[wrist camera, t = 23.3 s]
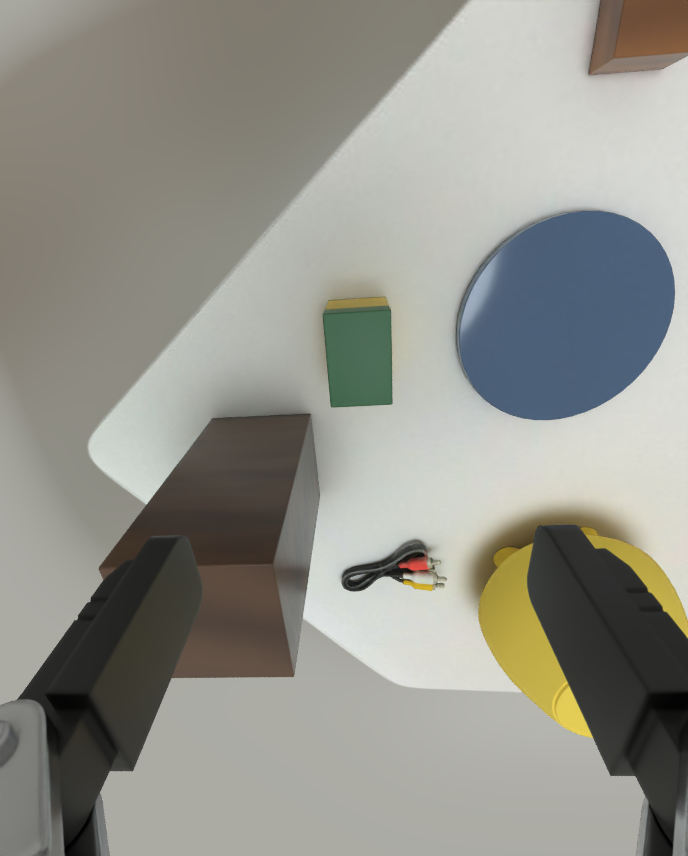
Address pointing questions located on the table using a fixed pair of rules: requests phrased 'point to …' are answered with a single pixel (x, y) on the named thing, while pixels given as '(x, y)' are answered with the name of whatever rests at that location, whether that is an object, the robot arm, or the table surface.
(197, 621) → the tall dark wooden block
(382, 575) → the composite cable
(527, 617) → the teapot
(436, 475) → the table surface
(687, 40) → the brown square block
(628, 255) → the plate
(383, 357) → the sponge
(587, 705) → the robot arm
